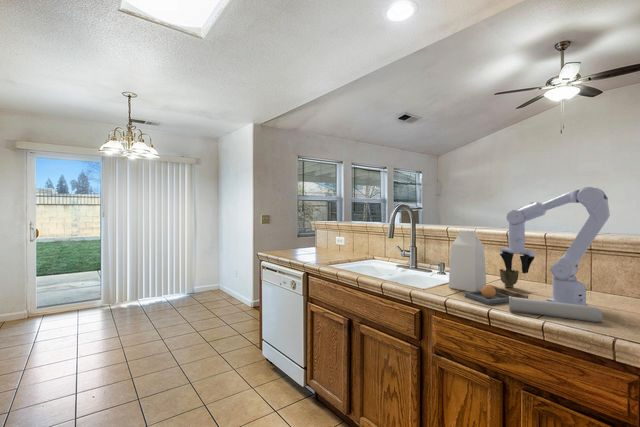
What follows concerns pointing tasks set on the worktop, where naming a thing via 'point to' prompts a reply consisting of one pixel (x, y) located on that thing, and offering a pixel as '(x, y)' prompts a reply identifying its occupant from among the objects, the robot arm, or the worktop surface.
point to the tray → (489, 301)
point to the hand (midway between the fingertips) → (516, 271)
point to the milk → (467, 262)
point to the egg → (488, 291)
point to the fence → (509, 293)
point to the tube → (555, 309)
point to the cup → (509, 277)
